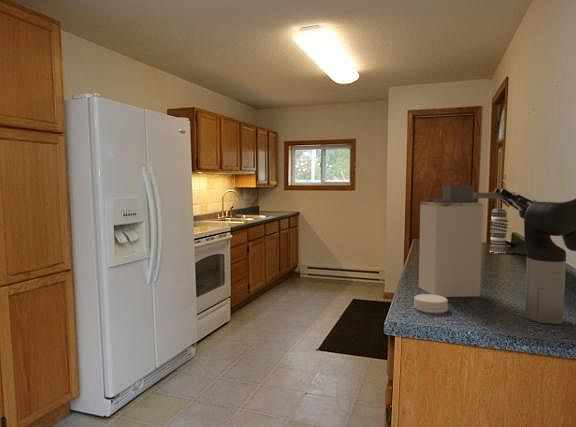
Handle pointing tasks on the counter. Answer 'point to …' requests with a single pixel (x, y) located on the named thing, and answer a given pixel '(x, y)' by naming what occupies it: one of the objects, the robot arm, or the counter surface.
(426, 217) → the cabinet
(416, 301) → the coaster
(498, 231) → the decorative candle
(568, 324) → the counter surface
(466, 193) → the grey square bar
